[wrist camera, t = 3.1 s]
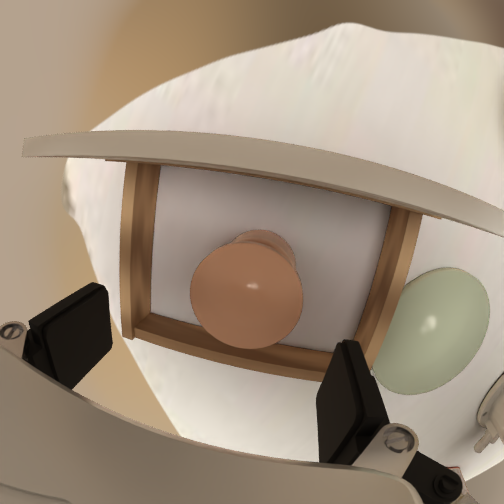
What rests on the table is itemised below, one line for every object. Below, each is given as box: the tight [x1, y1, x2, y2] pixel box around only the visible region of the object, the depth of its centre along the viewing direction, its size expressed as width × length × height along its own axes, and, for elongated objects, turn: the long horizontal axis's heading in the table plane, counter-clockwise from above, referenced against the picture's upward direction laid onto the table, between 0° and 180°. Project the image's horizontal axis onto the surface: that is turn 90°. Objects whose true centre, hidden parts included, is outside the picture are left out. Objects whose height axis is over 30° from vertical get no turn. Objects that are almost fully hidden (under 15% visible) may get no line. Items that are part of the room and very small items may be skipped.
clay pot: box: [190, 230, 303, 349], centre depth 18 cm, size 6×6×7 cm
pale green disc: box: [372, 268, 490, 395], centre depth 20 cm, size 13×13×1 cm
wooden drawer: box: [22, 130, 504, 382], centre depth 15 cm, size 15×20×13 cm
